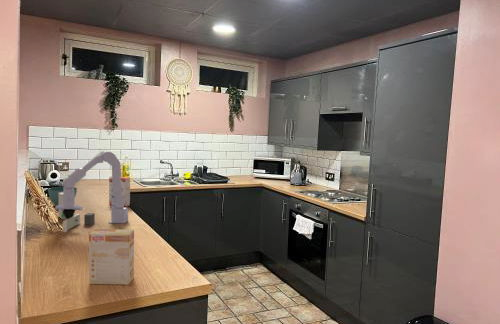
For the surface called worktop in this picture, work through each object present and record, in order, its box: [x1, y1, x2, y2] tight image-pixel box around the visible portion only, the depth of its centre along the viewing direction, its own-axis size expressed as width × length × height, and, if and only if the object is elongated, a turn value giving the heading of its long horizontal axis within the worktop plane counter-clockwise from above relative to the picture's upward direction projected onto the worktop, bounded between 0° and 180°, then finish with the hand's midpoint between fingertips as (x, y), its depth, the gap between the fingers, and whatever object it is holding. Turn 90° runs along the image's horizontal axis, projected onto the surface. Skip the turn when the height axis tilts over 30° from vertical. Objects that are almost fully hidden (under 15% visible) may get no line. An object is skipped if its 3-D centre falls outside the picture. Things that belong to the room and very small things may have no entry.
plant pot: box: [47, 186, 78, 206], centre depth 261 cm, size 18×18×12 cm
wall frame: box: [62, 213, 81, 233], centre depth 209 cm, size 2×18×6 cm, turn 0°
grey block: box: [83, 212, 96, 226], centre depth 218 cm, size 4×5×6 cm
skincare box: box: [57, 193, 76, 220], centre depth 230 cm, size 8×7×16 cm
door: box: [68, 214, 78, 230], centre depth 209 cm, size 2×10×6 cm, turn 0°
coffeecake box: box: [88, 228, 135, 286], centre depth 141 cm, size 15×7×20 cm, turn 92°
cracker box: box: [108, 175, 131, 207], centre depth 269 cm, size 14×6×21 cm, turn 73°
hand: (69, 222), depth 210 cm, fingers closed
